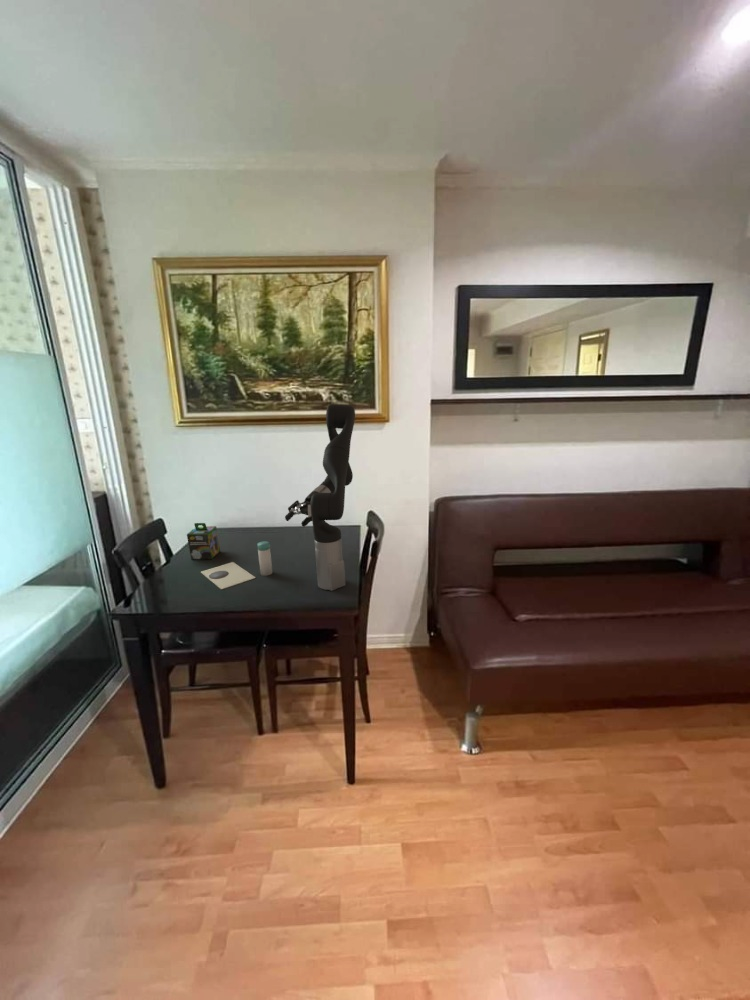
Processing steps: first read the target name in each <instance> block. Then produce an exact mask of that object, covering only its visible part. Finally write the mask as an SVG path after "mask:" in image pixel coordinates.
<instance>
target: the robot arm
mask: <svg viewBox="0 0 750 1000" xmlns="http://www.w3.org/2000/svg"><path fill="white" fill-rule="evenodd" d="M355 421H356V410H355V407H354V406H352V405H350V404H338V403H331V404H329V405H328V406H327V408H326V412H325V422H326V428H327V433H328V438H329V443H328V444H326V447H325V449H324V452H323V459H322V467H323V469H324V472H325V473H326V477H325V479H324V480H323V481H322V482H321V483H320V484H319V485H318V486H316V487H315V488H314V489H313V490H312V491H311V492H310V493H308V495H307V496H306V497H305V499H304V501H303V502H300V501H299V500H298V499H297V500H295V501H294V502H293V503H292V504H291V505H290V506H288V508H287V510H288V512H287V514H286V515H285V516H284V519H285V521H287V522H289V521H290V520H291V519H293V517H294V516H296V515H301V514H302V515H305V516H306V517H305V518H304V519H303V520H302V521H301V526H302V528H303V527H304V528H305V527H306V526H308V524H309V523H311V522H312V533H313V539H314V553H315V564H316V565H315V567H316V577H317V578H316V579H317V586H318V588H319V589H321V590H325V591H326V590H328V591H331V592H333V591H335V590H337V589H340V588H342V587H345V586H346V571H345V569H346V568H345V561H344V559H343V543H342V542H343V541H342V532H341V529H340V528H338V527H337V526H334V525H332V524H329V523H328V522H327V521H339V520H341V519H342V517H343V515H344V509H345V498H346V497H345V496H346V487H347V486H349V485H350V484H351V483H352V481H353V476H354V474H353V470H352V467H351V465H350V453H351V452H350V451H351V440H352V435H353V432H354V431H353V430H354V426H355ZM337 429H338V430H339V429H341V431H340V432H339V433H338V431H337Z"/></svg>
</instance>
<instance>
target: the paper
mask: <svg viewBox="0 0 750 1000" xmlns="http://www.w3.org/2000/svg"><path fill="white" fill-rule="evenodd" d="M200 574H202V575H203V576H204V577H205V578H206V579H208V580H209V581H210V582H212V583H213V584H214V585H215V586H216V587H217V588H219V589H220V590H224V589H225V590H226V589H228V588H230V587H234V586H236V585H240V584H243V583H245V582H248V581H250V580H251V581H252V580H254V579H256V576H254V575H253V574H251V572H250V573H249V572H248V571H247V570H245V569H244V568H242V567H241V566H239V565H238V564H236V562H234V561H231V562H228V563H225V564H222V565H219V566H216V567H212V568H209V569H205V570H202V571H200Z"/></svg>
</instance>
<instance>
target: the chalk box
mask: <svg viewBox="0 0 750 1000" xmlns="http://www.w3.org/2000/svg"><path fill="white" fill-rule="evenodd" d="M186 536H187V537H186V538H187V544H188V549H189V555H190V559H191V560H212V559H214V557H216V556H217V555H218V554H219V553H220V551H221V547H220V541H219V535H218V529H217V526H215V525H214V526H213V525H211V526H207V524H206V523H205V522H194V529H191V530H190V531H189V532H188V533H187V534H186Z"/></svg>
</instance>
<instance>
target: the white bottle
mask: <svg viewBox="0 0 750 1000" xmlns="http://www.w3.org/2000/svg"><path fill="white" fill-rule="evenodd" d="M256 545H257V553H258V563H259V573H260V576H262V577H263V576H264V577H266V576H267V577H268V576H271V575H272V574H273V565H272V564H273V563H272V556H271V545H270V542H269V541H266V540H265V541H264V540H263V541H260V542H257V544H256Z"/></svg>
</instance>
